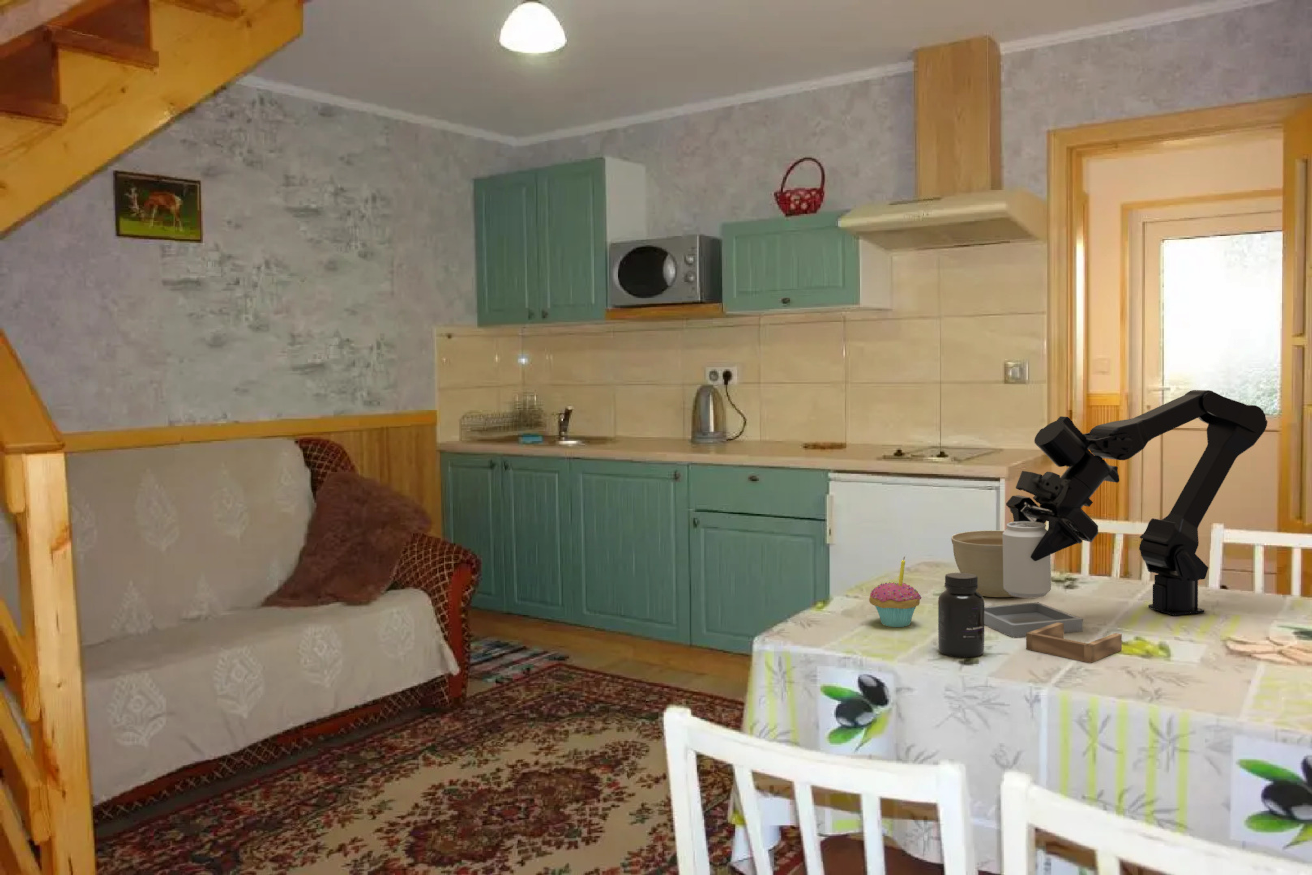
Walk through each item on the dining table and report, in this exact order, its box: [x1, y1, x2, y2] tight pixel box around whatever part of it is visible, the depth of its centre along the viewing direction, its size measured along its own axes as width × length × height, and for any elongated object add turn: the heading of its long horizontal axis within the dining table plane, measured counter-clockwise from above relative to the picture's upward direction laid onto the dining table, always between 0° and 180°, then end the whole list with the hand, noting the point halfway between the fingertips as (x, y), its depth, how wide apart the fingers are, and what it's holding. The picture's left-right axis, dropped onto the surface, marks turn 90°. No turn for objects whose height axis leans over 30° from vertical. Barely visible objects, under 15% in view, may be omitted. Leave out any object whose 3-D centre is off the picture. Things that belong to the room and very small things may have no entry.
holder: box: [1025, 622, 1123, 664], centre depth 157 cm, size 9×10×2 cm
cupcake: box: [868, 555, 922, 628], centre depth 175 cm, size 9×8×12 cm
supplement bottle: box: [937, 572, 985, 658], centre depth 157 cm, size 7×7×12 cm
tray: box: [984, 601, 1084, 638], centre depth 172 cm, size 13×13×2 cm
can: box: [1003, 521, 1052, 599], centre depth 171 cm, size 8×8×12 cm
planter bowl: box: [950, 529, 1013, 598], centre depth 196 cm, size 16×16×11 cm
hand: (1019, 555), depth 171 cm, fingers closed on can, 7 cm apart
